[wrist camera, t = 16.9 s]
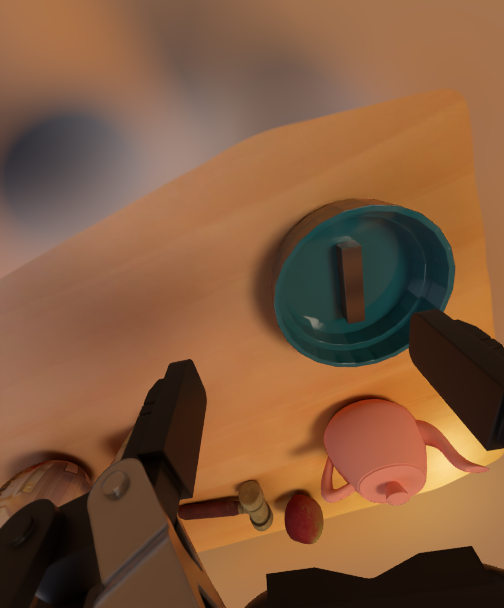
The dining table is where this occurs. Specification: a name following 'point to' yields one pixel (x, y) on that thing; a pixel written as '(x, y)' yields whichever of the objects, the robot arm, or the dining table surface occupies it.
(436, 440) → the teapot
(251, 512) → the gavel
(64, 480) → the ornament
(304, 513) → the apple
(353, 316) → the stick
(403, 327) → the bowl
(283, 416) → the dining table surface
